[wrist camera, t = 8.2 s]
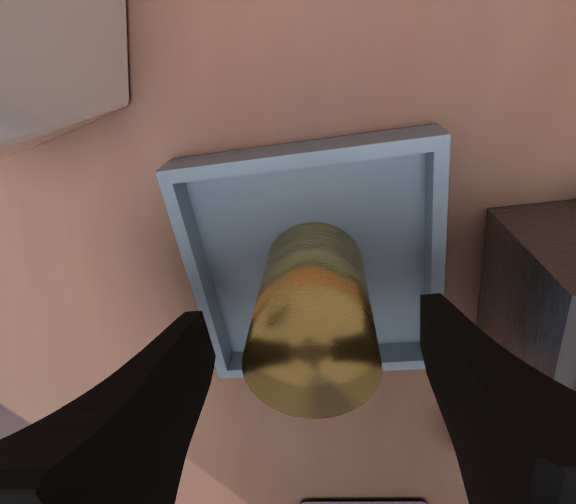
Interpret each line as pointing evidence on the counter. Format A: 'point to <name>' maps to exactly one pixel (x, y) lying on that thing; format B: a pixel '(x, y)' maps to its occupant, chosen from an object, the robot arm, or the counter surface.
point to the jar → (59, 67)
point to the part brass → (313, 326)
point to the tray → (315, 208)
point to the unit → (532, 285)
